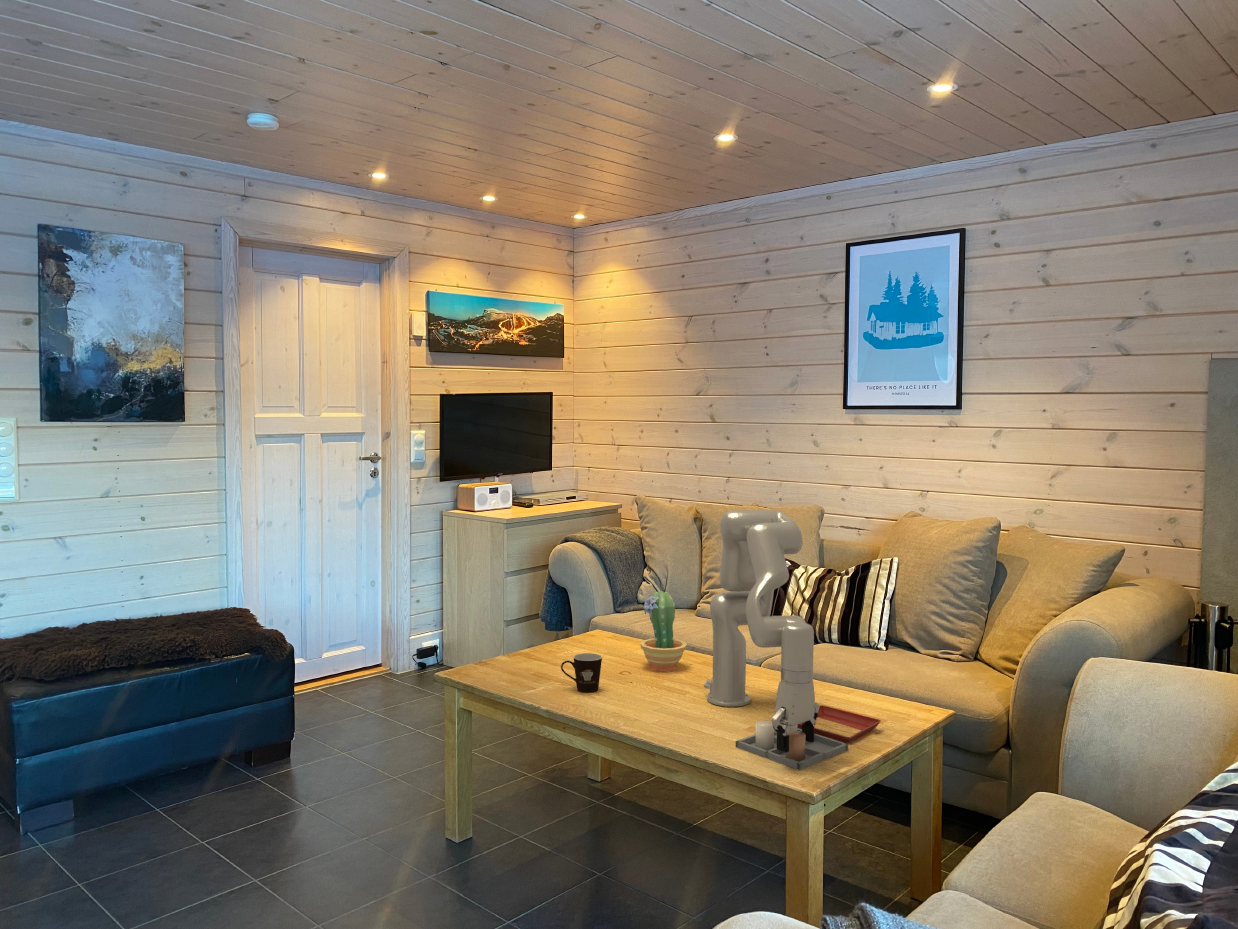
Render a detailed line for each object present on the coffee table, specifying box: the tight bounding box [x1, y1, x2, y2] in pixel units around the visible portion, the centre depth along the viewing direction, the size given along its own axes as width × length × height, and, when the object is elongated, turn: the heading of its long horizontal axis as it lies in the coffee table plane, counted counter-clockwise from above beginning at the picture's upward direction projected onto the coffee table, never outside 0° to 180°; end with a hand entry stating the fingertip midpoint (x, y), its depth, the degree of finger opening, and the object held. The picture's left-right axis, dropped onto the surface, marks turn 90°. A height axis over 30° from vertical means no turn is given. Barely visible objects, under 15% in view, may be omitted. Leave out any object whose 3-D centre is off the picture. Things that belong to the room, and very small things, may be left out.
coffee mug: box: [560, 652, 603, 694], centre depth 275 cm, size 12×9×10 cm
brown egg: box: [786, 731, 806, 762], centre depth 218 cm, size 5×5×6 cm
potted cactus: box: [639, 590, 688, 673], centre depth 299 cm, size 15×15×25 cm
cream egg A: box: [754, 720, 774, 751], centre depth 225 cm, size 5×5×6 cm
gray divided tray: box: [735, 728, 849, 771], centre depth 225 cm, size 19×19×2 cm
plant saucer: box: [797, 704, 882, 744], centre depth 241 cm, size 18×18×3 cm
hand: (795, 745), depth 218 cm, fingers open, 9 cm apart
